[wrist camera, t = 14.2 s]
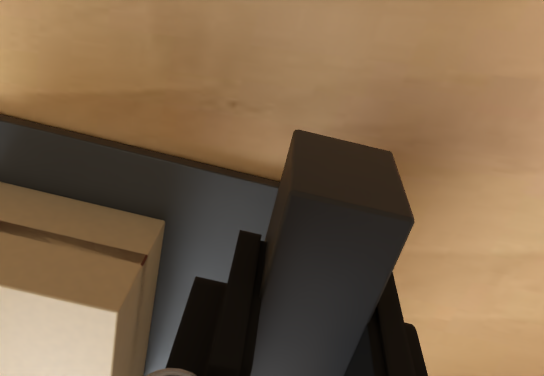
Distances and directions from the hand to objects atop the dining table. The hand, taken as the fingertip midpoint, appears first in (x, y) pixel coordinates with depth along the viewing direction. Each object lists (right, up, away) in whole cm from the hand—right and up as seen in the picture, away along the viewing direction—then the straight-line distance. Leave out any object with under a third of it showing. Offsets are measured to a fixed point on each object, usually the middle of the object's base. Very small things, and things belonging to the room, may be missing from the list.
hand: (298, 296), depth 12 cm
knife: (-1, -4, +3) cm, 5 cm away
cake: (-9, -3, +14) cm, 16 cm away
